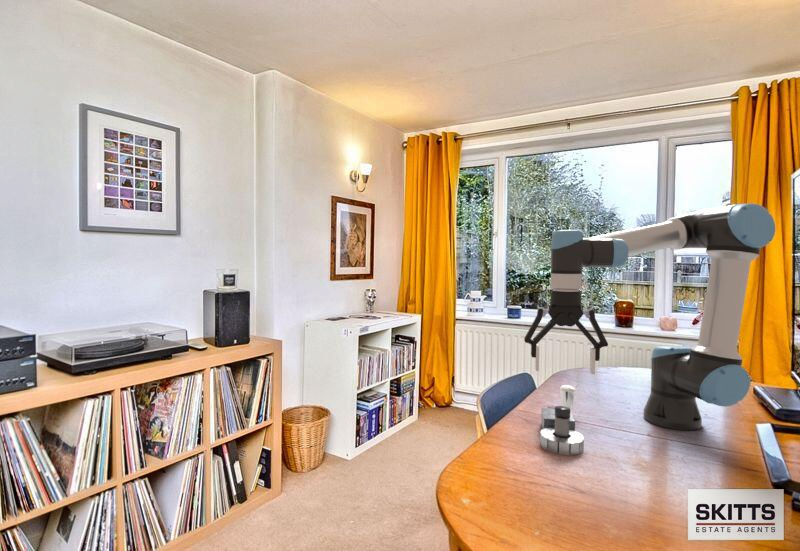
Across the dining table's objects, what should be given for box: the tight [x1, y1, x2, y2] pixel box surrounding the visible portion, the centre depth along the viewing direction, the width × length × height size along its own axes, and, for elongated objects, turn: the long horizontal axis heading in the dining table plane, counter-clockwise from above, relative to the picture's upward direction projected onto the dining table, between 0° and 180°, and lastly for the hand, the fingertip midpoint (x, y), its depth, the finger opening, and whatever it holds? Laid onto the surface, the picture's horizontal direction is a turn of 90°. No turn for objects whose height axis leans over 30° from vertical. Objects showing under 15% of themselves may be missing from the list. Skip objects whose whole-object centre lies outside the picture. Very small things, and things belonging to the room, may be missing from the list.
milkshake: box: [559, 383, 579, 415], centre depth 140 cm, size 4×5×10 cm
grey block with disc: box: [539, 406, 585, 456], centre depth 121 cm, size 10×22×5 cm, turn 166°
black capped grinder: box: [554, 405, 570, 438], centre depth 116 cm, size 4×4×10 cm
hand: (564, 371), depth 115 cm, fingers open, 13 cm apart
